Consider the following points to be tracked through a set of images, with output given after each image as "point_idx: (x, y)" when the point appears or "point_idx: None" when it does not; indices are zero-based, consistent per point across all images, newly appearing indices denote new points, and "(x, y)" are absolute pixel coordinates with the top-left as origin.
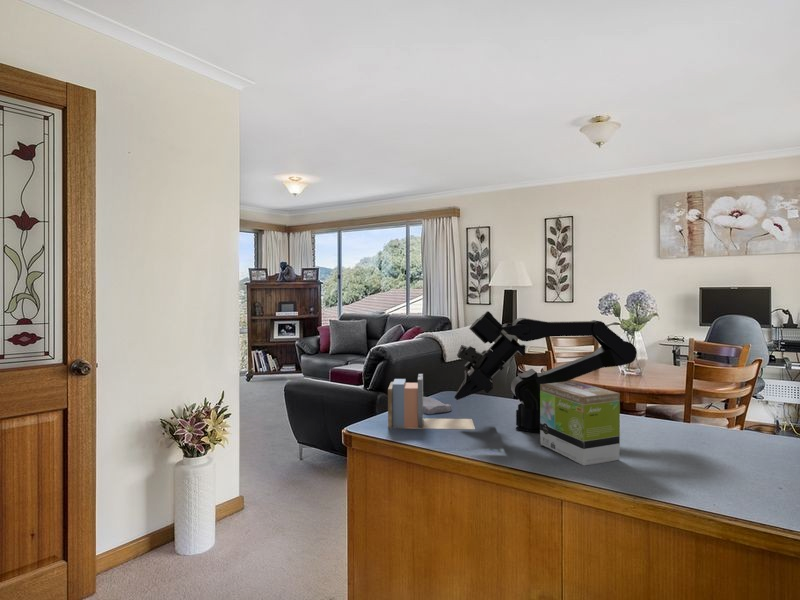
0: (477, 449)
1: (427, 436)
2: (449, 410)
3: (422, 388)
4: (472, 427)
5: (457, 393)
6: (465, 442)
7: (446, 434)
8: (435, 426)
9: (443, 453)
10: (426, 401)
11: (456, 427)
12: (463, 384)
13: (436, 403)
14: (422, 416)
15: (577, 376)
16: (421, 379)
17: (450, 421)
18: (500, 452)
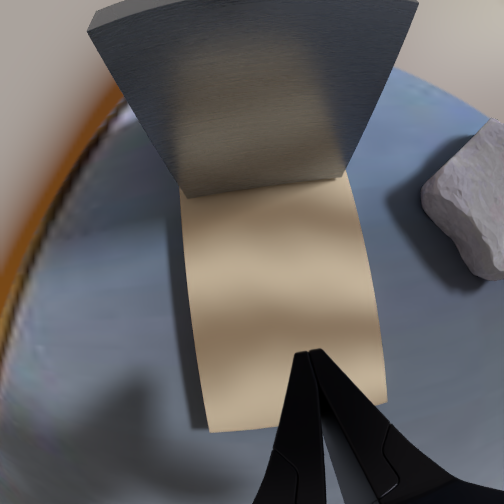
0: (51, 410)
1: (147, 235)
2: (487, 275)
3: (130, 78)
4: (234, 422)
5: (287, 386)
6: (99, 383)
7: (183, 308)
8: (219, 251)
9: (12, 308)
10: (500, 168)
11: (220, 351)
12: (280, 484)
13: (498, 211)
14: (175, 178)
15: None
16: (105, 20)
17: (326, 311)
18: (50, 462)
